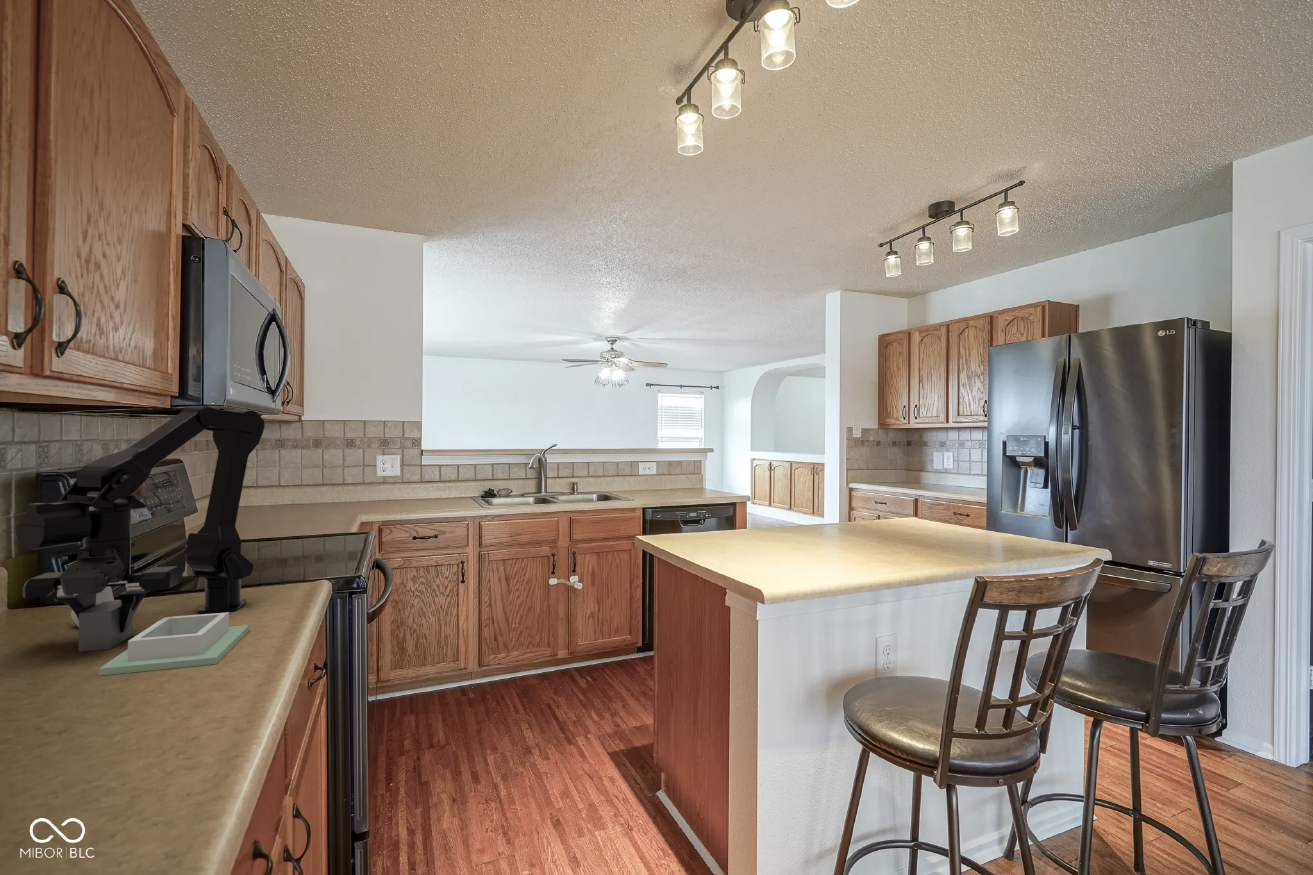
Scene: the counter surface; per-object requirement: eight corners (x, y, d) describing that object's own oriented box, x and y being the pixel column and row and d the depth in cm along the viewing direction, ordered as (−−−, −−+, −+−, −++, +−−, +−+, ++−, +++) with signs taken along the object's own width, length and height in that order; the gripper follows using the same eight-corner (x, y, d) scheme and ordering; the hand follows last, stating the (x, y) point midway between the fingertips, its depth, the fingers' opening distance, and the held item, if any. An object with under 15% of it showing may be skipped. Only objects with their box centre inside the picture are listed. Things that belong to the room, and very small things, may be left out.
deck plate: (151, 638, 99) (151, 615, 99) (249, 630, 103) (249, 607, 103) (98, 675, 84) (98, 647, 84) (216, 663, 88) (216, 637, 88)
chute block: (103, 636, 99) (103, 601, 99) (132, 634, 101) (132, 599, 101) (78, 651, 93) (79, 613, 93) (110, 648, 94) (110, 611, 94)
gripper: (-3, 550, 86) (-4, 657, 86) (154, 544, 92) (153, 643, 92) (46, 538, 96) (45, 633, 96) (184, 533, 103) (183, 622, 103)
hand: (106, 633), depth 97 cm, fingers closed on chute block, 4 cm apart
